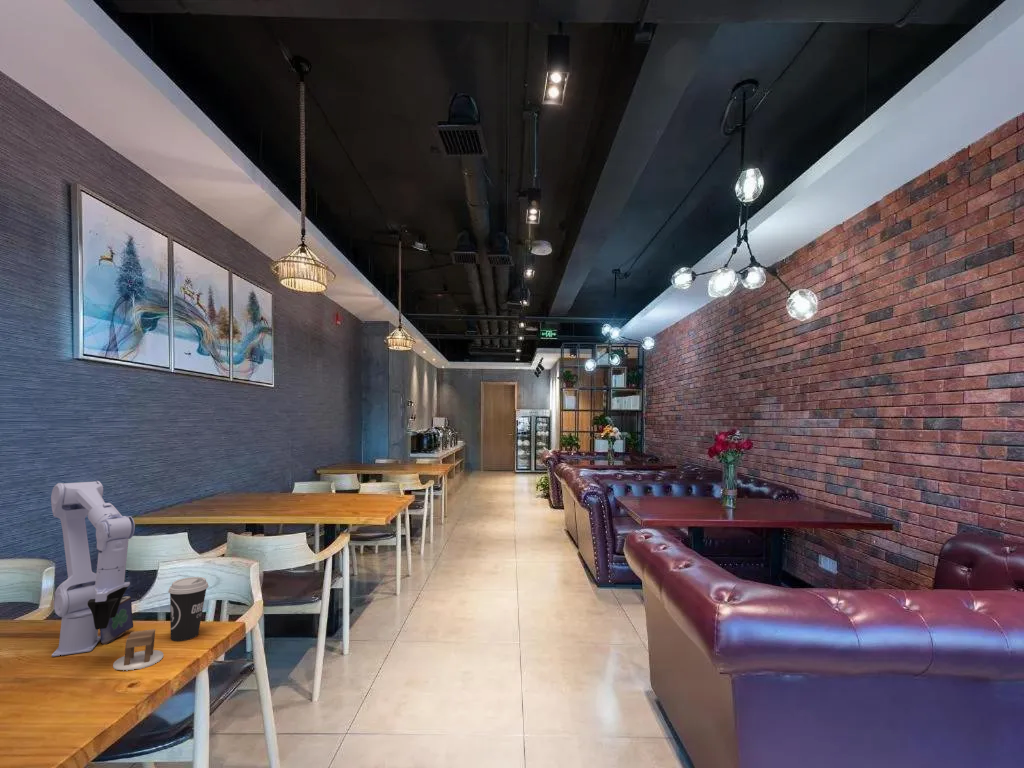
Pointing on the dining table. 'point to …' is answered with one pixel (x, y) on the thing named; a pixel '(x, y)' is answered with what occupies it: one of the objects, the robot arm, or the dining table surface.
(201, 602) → the coffee cup
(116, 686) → the dining table surface
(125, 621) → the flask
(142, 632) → the stool
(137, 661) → the plate
